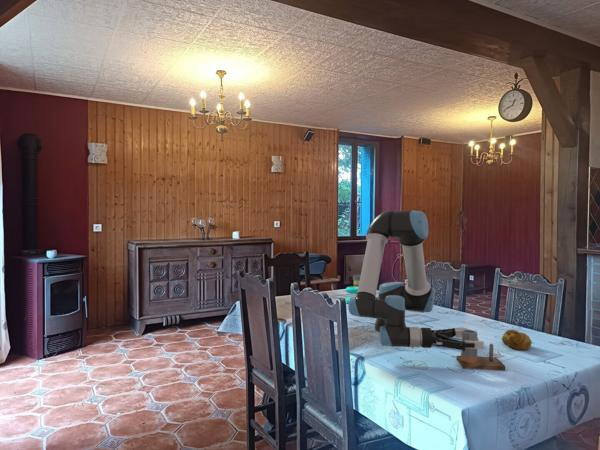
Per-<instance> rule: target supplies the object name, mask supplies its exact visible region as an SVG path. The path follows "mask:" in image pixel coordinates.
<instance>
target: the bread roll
mask: <svg viewBox="0 0 600 450" xmlns="http://www.w3.org/2000/svg"><path fill="white" fill-rule="evenodd" d="M501 341H502V343H503V344H504V345H506V346H507V347H508V348H510V349H513V350H517V351H525V350H528V349H530V348H531V346H532V340H531V338H530V336H529V335H528V334H526V333H524V332H520V331H518V330H515V329H508V330H506V331H505V332H504V333H503V335H502V337H501Z"/></svg>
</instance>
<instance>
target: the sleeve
mask: <svg viewBox="0 0 600 450" xmlns="http://www.w3.org/2000/svg"><path fill="white" fill-rule="evenodd" d="M477 337H478V331H477V330H473V329H469V330H462V338H461V341H464V342H465V340H466V341H477ZM460 351H461V353H460V356H461V360H462V361H464V362H468V363H475V362H477V356H478V349H467V348H465V351H463V350H460Z"/></svg>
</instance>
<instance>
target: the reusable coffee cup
mask: <svg viewBox="0 0 600 450" xmlns="http://www.w3.org/2000/svg"><path fill="white" fill-rule="evenodd" d="M360 276H361V273H357V274H356V273H355V274H353V276H352V279H353V287H358V286H359V281H360ZM354 295H355V296H354V297H356V296H357V294H354Z"/></svg>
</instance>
